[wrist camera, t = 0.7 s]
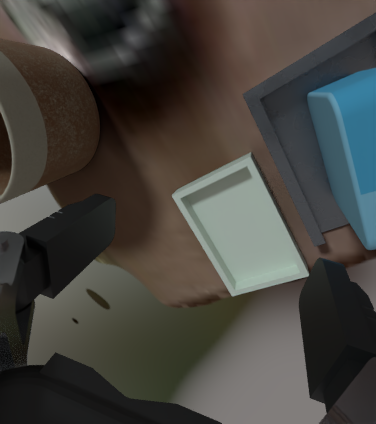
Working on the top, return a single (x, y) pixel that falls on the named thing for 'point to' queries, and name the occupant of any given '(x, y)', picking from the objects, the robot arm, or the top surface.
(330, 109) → the blue flat block
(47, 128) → the planter
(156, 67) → the top surface
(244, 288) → the tray
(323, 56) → the bay
